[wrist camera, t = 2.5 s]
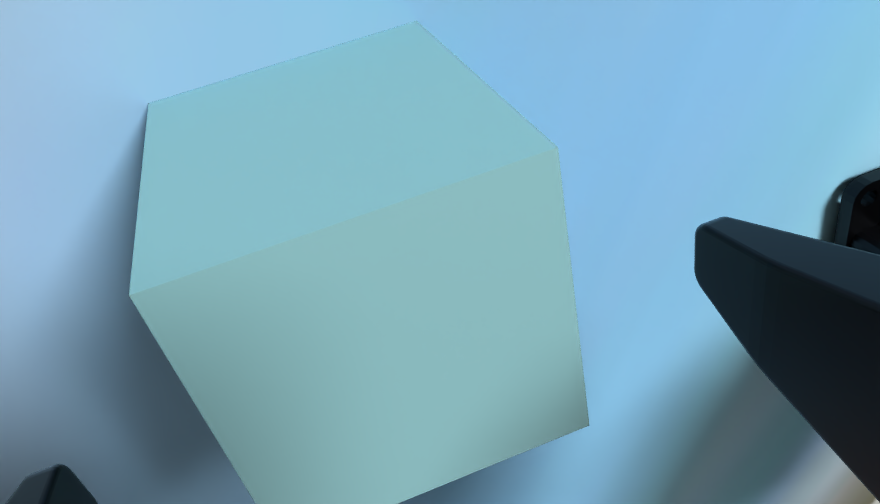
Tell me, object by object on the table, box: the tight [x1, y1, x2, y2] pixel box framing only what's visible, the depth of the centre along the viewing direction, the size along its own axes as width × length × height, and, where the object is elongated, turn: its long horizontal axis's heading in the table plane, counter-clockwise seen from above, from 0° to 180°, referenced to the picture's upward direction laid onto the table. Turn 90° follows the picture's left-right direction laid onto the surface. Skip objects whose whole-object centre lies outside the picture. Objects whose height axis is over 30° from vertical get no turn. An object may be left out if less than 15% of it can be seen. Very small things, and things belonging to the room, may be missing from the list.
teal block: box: [129, 21, 589, 504], centre depth 12 cm, size 5×5×6 cm
